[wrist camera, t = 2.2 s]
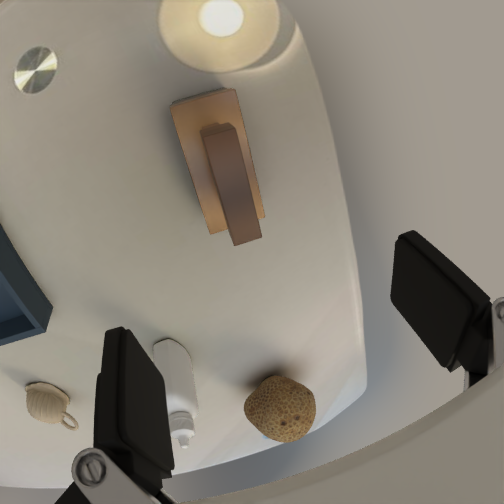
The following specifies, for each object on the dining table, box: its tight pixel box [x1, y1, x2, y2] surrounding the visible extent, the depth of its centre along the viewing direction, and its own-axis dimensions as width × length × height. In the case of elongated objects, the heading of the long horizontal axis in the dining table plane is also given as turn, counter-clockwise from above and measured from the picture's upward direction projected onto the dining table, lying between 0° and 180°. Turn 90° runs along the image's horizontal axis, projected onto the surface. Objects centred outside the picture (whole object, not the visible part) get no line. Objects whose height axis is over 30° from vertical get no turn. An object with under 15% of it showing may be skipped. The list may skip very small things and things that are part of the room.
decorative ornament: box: [25, 382, 78, 431], centre depth 32 cm, size 4×8×5 cm, turn 60°
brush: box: [170, 88, 265, 246], centre depth 21 cm, size 10×4×8 cm, turn 13°
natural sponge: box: [244, 376, 316, 442], centre depth 38 cm, size 9×9×10 cm
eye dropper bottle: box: [153, 339, 199, 448], centre depth 30 cm, size 4×6×12 cm
